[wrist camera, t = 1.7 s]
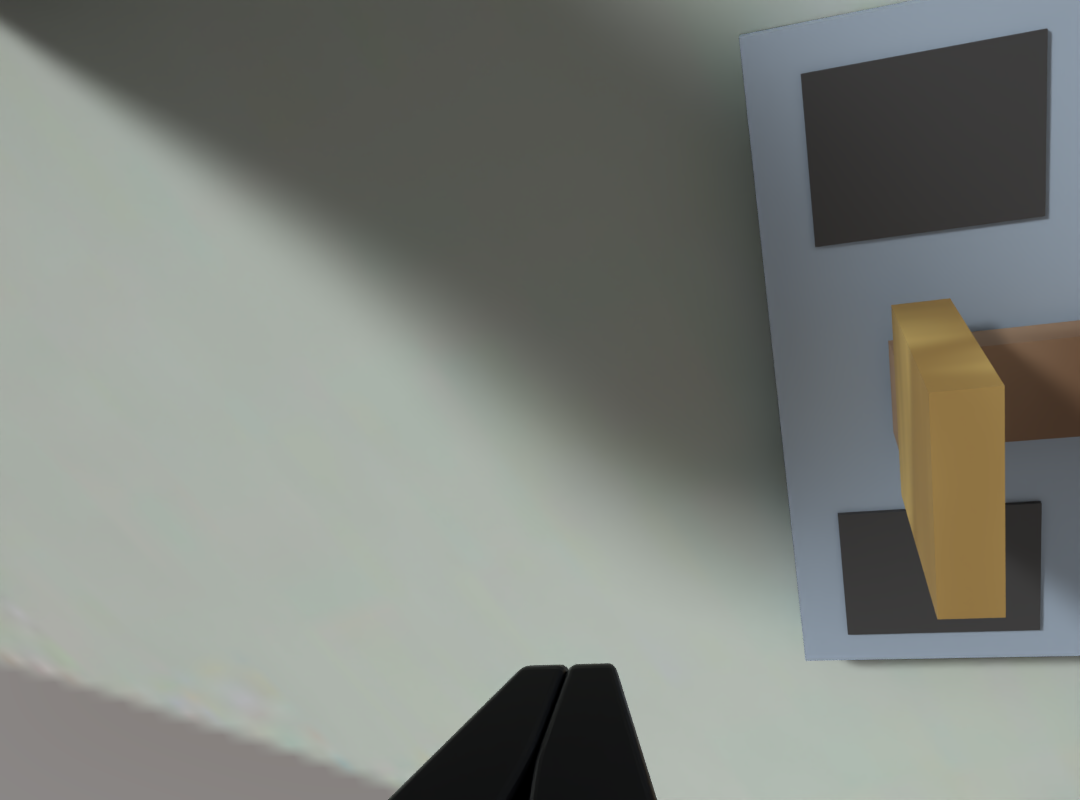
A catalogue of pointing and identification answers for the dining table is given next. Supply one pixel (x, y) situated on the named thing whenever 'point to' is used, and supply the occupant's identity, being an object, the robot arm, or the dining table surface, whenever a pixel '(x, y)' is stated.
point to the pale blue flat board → (915, 292)
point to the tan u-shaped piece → (972, 437)
